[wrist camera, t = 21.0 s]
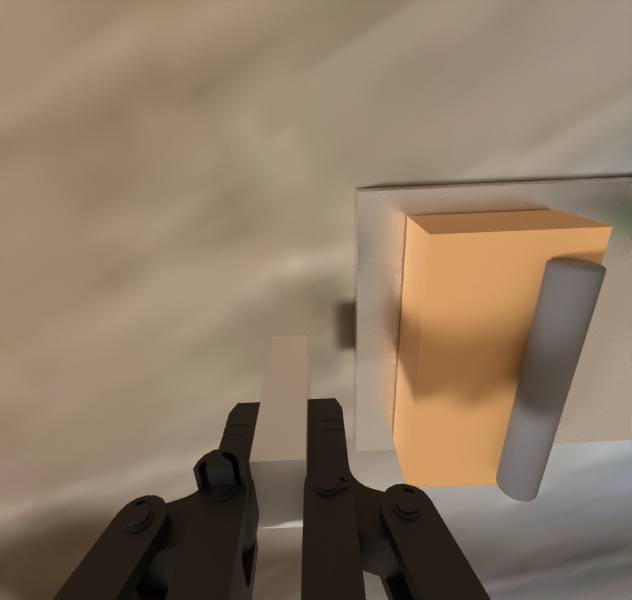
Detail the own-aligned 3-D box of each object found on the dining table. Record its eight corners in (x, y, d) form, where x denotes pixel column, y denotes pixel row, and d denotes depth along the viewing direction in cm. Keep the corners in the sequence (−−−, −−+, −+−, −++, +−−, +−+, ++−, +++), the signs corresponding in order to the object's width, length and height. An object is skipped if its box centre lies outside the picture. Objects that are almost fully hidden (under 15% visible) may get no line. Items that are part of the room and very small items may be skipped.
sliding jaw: (504, 434, 20) (556, 515, 15) (393, 439, 20) (415, 521, 15) (556, 209, 15) (655, 239, 10) (407, 216, 15) (446, 248, 10)
